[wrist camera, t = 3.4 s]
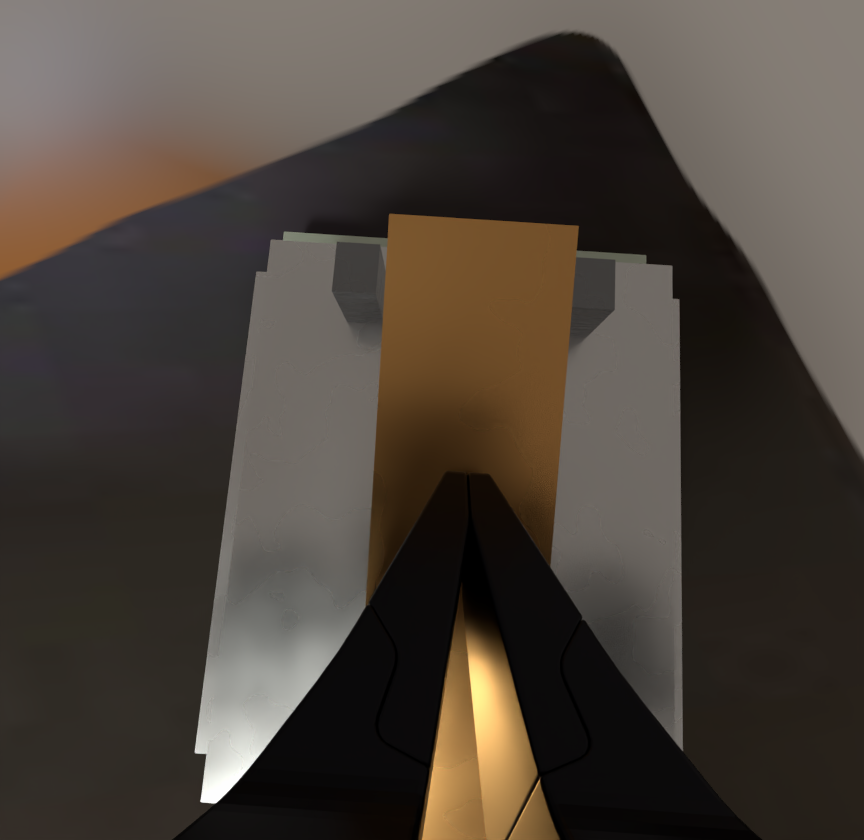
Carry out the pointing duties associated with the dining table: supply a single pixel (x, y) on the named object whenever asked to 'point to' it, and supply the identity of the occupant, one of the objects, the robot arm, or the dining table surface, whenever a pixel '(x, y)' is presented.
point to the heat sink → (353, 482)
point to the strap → (468, 419)
